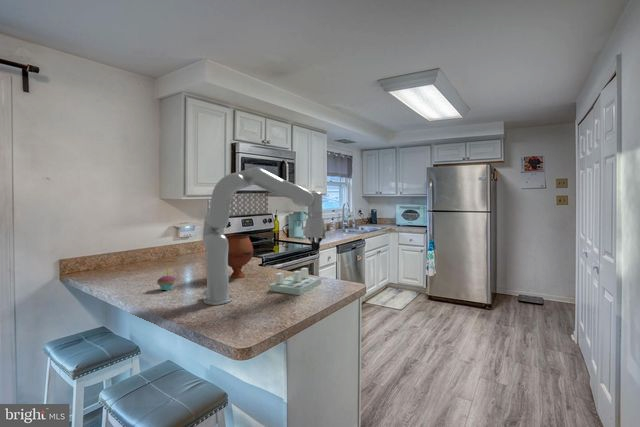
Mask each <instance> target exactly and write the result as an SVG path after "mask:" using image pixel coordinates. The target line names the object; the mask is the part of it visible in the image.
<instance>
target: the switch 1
mask: <svg viewBox="0 0 640 427" xmlns="http://www.w3.org/2000/svg"><path fill="white" fill-rule="evenodd" d="M284 274H285V273H284V272H278V273H275V282H276V284H282V283H284V277H285V276H284Z"/></svg>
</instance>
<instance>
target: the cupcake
mask: <svg viewBox="0 0 640 427" xmlns="http://www.w3.org/2000/svg"><path fill="white" fill-rule="evenodd" d="M169 267H170V266H168V267H167V270H166V272H167V273H166V275H163V276H162V277H160V278H159V279H158V280H157V282H156V283H157V284H156V285H159V287H160V289H161V291H162V290H168V291H171V290H172V289H173V285H174V284H175V282H176V278H175V277H174V276H171V275H169V274H170V273H169V272H170V268H169ZM170 289H171V290H170Z"/></svg>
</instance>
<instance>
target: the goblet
mask: <svg viewBox="0 0 640 427" xmlns="http://www.w3.org/2000/svg"><path fill="white" fill-rule="evenodd" d="M225 237H226V238H227V240H228V244H229V248H228V267H230V268H231V271H233V272H232V273H231V274H230V278H229V279H234V280H236V279H237V280H238V279H243V278H245V277H246V275H245V273H244V272H243V270H242V269H243V267H244V266H245V265H247V264H248V263H249V262H250V261H251V260H252V258H253V256H254V247H253V243H252V241H251V239H250V235H249V234H243V233H241V234H240V233H236V234H235V233H233V234H226V235H225Z"/></svg>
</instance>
